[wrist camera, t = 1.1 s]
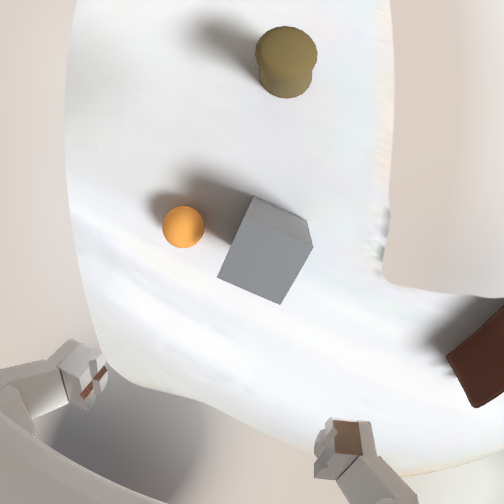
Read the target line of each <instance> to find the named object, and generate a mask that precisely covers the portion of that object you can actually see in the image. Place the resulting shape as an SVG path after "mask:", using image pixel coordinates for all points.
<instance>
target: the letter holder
mask: <svg viewBox="0 0 504 504" xmlns="http://www.w3.org/2000/svg"><path fill="white" fill-rule="evenodd" d="M447 360H448V362H449V363H450V365H451V367H452V369H453V371H454V372H455V374H456V376H457V378H458V380H459V382H460V384H461V386H462V387H463V389H464V391H465V393H466V395H467V398H468V400H469V402H470V404H471V405H472V407H474V408H479V407H481V406H483V405H485V404H486V403H488V402H490V401H491V400H493V399H494V398H496V397H497V396H499V395H500V394H502V393H503V392H504V306H503V307H502V308H501V309H500V310H499V311H498V312H497V313H496V314H495V315H494V316H492V317H491V318H490V319H489V320H488V321H487V322H486V323H485V324H484V325H483V326H482V327H480V328H479V329H478V330H477V331H476V332H475V333H474V334H473V335H471V336H470V337H469V338H468V339H467V340H466V341H464V342H463V343H462V344H461V345H460V346H458V347H457V348H456V349H455V350H454V351H452V352H451V353H450V354H448V355H447Z"/></svg>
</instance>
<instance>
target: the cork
mask: <svg viewBox="0 0 504 504" xmlns="http://www.w3.org/2000/svg"><path fill="white" fill-rule="evenodd" d="M255 56H256V60H257V63H258V65H259V66H260V71H259V77H260V81H261V84H262V85H263V87H264V88H265V89H266V90H267V91H268V92H269V93H270V94H272V95H274V96H277V97H279V98H293V97H297V96H299V95H301V94H303V93H304V92H305V91H306V90H307V89H308V87H309V85H310V83H311V80H312V70H313V68H314V66H315V64H316V62H317V49H316V46H315V44H314V42H313V41H312V39H311V38H310V36H309V35H307V34H306V33H305V32H303V31H302V30H299V29H297V28H294V27H288V26H282V27H276V28H273V29H271V30H269V31H267V32H266V33H265V34H264V35H263V36H262V37H261V38H260V40H259V41H258V43H257V45H256V52H255Z"/></svg>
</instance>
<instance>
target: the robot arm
mask: <svg viewBox="0 0 504 504" xmlns="http://www.w3.org/2000/svg"><path fill="white" fill-rule="evenodd" d="M106 362H107V361H106V355H104V354H103V353H101V352H99V351H96V350H94V349H92V348H90V347H88V346H86V345H84V344H82V343H80V342H78V341H76V340H74V339H69V340H68V341H66V342H65V343H64V344H63V345H62V346H61V347H60V348H59V349H58V350H57V351H56V352H55V353H54V354H53V355H52V356H51V357H50V358H48V360H46V361H45V360H39V361H35V362H31V363H27V364H22V365H18V366H13V367H9V368H4V369H0V504H167V503H164V502H161V501H158V500H155V499H153V498H150V497H147V496H145V495H142V494H140V493H137V492H135V491H132V490H130V489H128V488H125V487H123V486H121V485H118V484H116V483H114V482H112V481H110V480H108V479H105V478H103V477H101V476H99V475H97V474H95V473H93V472H92V471H90V470H88V469H86V468H84V467H82V466H80V465H79V464H77V463H75V462H73V461H72V460H70V459H68V458H66V457H65V456H63V455H61V454H60V453H58V452H57V451H55V450H53V449H52V448H50V447H49V446H47V445H46V444H44V443H42V442H41V441H40V440H38V439H37V438H35V437H34V435H35V434H36V433H37V430H36V427H35V425H34V423H33V421H32V419H33V418H36V417H38V416H40V415H43V414H45V413H47V412H50V411H52V410H54V409H57V408H59V407H61V406H64V405H66V404H68V403H69V402H70V403H72V404H74V405H76V406H77V407H79V408H82V409H84V410H85V411H88V409H89V408H90V407H91V405H92V404H93V403H94V401H95V394H98V393H101V392H102V391H103V389H104V388H105V385H106V383H107V380H108V370H107V369H106V367H105V366H104V364H105V363H106ZM314 454H315V455H316V457H317V458H318V459H317V460H316V462H315V463H314V478H319V479H329V480H336V482H337V484H338V486H339V487H340V489H341V490H342V492H343V494H344V495H345V497H346V498H347V500H348V501H349V503H350V504H418V499H417V494H415V492H414V491H413V490H412V489H411V488H410V487H409V486H408V485H407V484H406V483H405V482H404V481H403V480H402V479H401V478H400V477H399V476H398V475H397V474H396V472H395V471H394V470H393V469H392V468H391V467H390V466H389V465H388V464H387V463H386V462H385V461H384V460H383V459H382V457H381V456H377V453H376V448H375V442H374V437H373V432H372V427H371V423H370V422H368V421H356V420H348V419H339V418H331V417H330V418H329V419H328V420H327V421H326V423H325V429H323V430H321V431H320V432H319V434H318V436H317V438H316V441H315V446H314Z"/></svg>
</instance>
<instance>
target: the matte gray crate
mask: <svg viewBox="0 0 504 504" xmlns="http://www.w3.org/2000/svg"><path fill="white" fill-rule="evenodd" d="M312 249H313V245H312V240H311V236H310V232H309V228H308V224H307V221H306V220H304V219H302V218H300V217H298V216H296V215H294V214H291V213H289V212H287V211H285V210H283V209H281V208H279V207H277V206H274V205H272V204H270V203H268V202H266V201H264V200H261V199H259V198H257V197H255V196H254V197H253V199H252V201H251V203H250V205H249V207H248V209H247V212H246V214H245V216H244V218H243V220H242V222H241V225H240V227H239V229H238V231H237V234H236V236H235V238H234V240H233V242H232V245H231V247H230V249H229V251H228V254H227V256H226V258H225V260H224V263H223V265H222V267H221V269H220V272H219V274H218V276H217V278H219V279H222V280H224V281H226V282H228V283H231V284H233V285H235V286H238V287H240V288H242V289H244V290H247V291H249V292H251V293H254V294H256V295H258V296H261V297H263V298H265V299H268V300H270V301H272V302H275V303H277V304H279V305H280V304H281V303H282V301H283V299H284V298H285V296H286V294H287V292H288V291H289V289H290V287H291V286H292V284H293V282H294V280H295V279H296V277H297V275H298V274H299V272H300V270H301V268H302V267H303V265H304V263H305V261H306V259H307V258H308V256H309V254H310V252H311V251H312Z"/></svg>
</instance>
